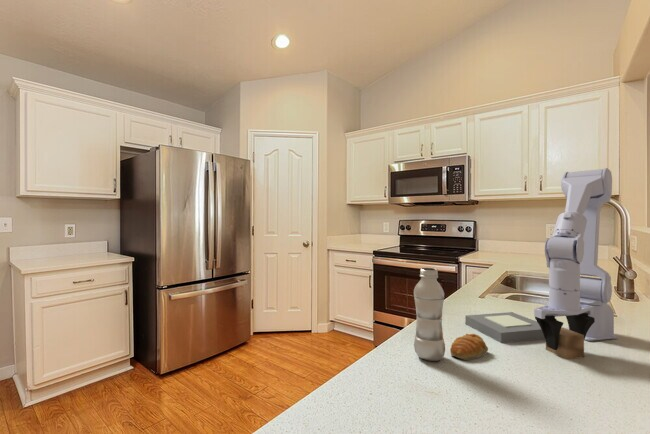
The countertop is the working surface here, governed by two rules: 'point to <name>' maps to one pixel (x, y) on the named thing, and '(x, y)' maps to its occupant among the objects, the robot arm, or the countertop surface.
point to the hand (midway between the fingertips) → (564, 346)
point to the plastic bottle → (429, 316)
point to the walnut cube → (569, 344)
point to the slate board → (505, 326)
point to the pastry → (468, 347)
